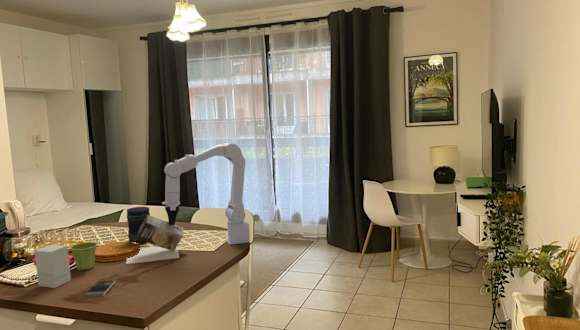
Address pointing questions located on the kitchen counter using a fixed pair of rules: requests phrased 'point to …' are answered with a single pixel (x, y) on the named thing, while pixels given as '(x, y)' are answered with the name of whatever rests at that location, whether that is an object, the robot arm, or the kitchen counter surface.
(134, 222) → the storage jar
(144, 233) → the coffee box
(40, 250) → the supplement box
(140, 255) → the mat
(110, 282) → the cell phone
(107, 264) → the kitchen counter surface
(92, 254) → the plant pot
